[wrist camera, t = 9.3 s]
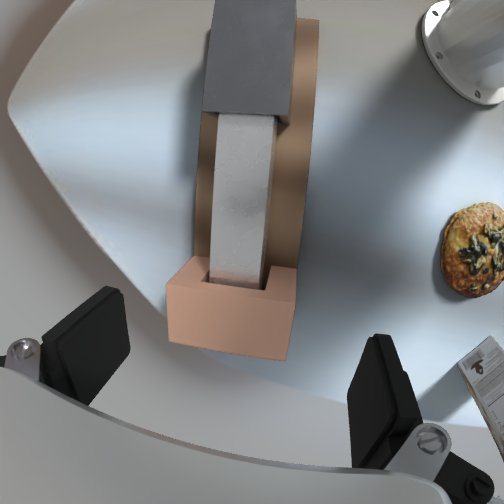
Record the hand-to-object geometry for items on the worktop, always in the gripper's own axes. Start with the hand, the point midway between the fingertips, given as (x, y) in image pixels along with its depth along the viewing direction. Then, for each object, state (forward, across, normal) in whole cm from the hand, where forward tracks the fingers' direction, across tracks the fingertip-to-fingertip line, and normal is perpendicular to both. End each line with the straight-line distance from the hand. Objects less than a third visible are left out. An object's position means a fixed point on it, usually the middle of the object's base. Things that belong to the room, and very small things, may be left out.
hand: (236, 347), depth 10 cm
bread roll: (+20, -22, -1) cm, 30 cm away
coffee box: (+20, -31, +15) cm, 40 cm away
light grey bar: (+17, +3, -2) cm, 17 cm away
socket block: (+18, +3, +7) cm, 19 cm away
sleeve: (+18, +3, -14) cm, 23 cm away
